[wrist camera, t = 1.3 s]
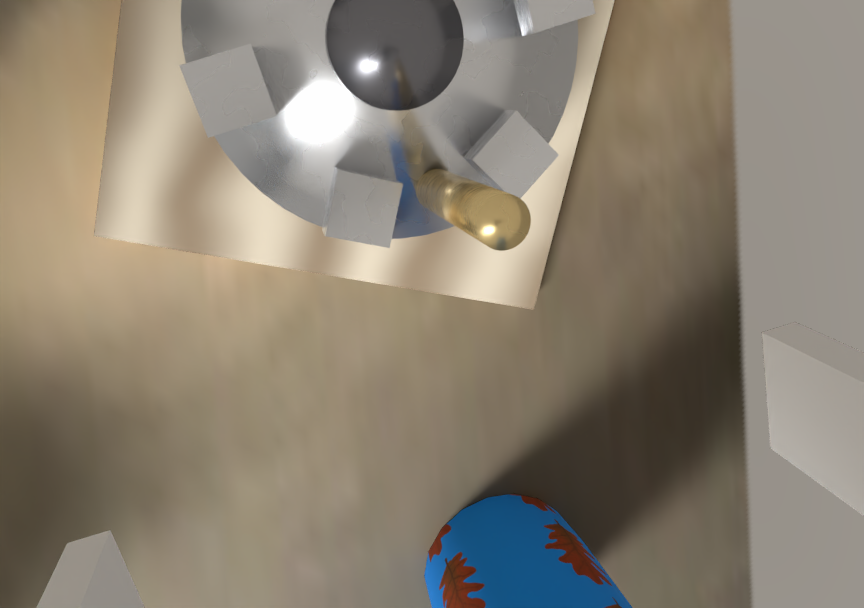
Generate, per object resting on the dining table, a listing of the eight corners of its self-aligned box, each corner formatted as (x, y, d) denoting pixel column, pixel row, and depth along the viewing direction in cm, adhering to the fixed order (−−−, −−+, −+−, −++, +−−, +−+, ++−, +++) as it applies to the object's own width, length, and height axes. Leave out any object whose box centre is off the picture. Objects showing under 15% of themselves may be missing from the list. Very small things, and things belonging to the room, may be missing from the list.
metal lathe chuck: (124, -99, 31) (27, -245, 18) (496, -200, 34) (647, -393, 21) (270, 272, 37) (277, 363, 24) (579, 164, 40) (737, 193, 26)
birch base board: (100, 231, 36) (92, 237, 35) (163, -298, 31) (157, -320, 30) (524, 302, 43) (535, 311, 41) (634, -124, 38) (652, -134, 36)
